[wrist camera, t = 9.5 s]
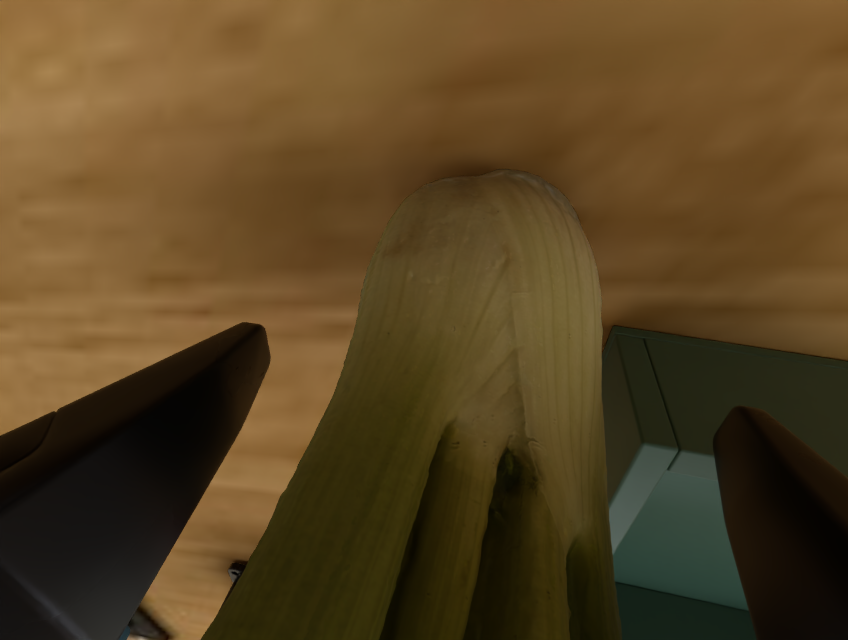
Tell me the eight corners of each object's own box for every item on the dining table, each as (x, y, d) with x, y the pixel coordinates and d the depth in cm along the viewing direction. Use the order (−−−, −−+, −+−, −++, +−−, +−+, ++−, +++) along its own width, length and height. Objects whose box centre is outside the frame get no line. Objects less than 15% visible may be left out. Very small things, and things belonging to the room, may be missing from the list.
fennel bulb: (599, 320, 13) (774, 1149, 4) (442, 342, 15) (289, 960, 5) (573, 118, 10) (1104, 1663, 1) (380, 173, 12) (-212, 898, 2)
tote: (521, 561, 22) (519, 668, 18) (613, 324, 13) (642, 443, 10) (871, 637, 20) (943, 773, 17) (1245, 421, 11) (1561, 610, 8)
